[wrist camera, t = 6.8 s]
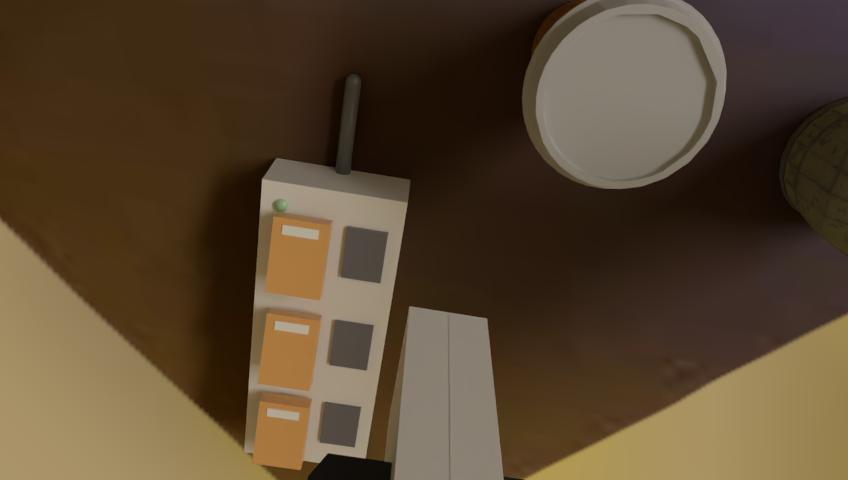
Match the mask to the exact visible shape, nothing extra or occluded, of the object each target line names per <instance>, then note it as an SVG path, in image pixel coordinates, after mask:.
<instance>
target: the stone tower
mask: <svg viewBox="0 0 848 480" xmlns="http://www.w3.org/2000/svg"><path fill="white" fill-rule="evenodd" d="M779 180H780V185H781V189H782V193H783V195H784V196H785V198H786V199H787V201H788V202H789V203H790V205H791V206H792V208H793V209H795V210H796V211H797V212H799V213H800V214H801V215H802V216H803V218H804V219H805V220H806V222H807V223H808V225H809V226H810V227H811V228H813V229H814V230H815V231H816V232H817V233H818V234H819V235H821V236H822V237H823V238H824V239H825V240H826V241H827V242H829V243H830V244H831V245H832V246H833V247H835V248H836V249H838V250H839V251H840V252H842V253H843V254H845V255H846V256H848V97H846V98H843V99H841V100H838V101H835V102H833V103H830V104H827V105H825V106H824V107H822V108H821V109H819V110H818V111H816V112H815V113H814V114H812V115H811V116H809V117H808V118H806V119H805V120H804V121H803V123H802V124H801V125H800V126H799V127H798V128H797V130H796V131H795V132H794V133H793V134H792V135H791V137H790V139H789V141H788V143H787V145H786V147H785V149H784V151H783V153H782V156H781V161H780V169H779Z"/></svg>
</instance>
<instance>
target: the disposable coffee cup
mask: <svg viewBox="0 0 848 480" xmlns="http://www.w3.org/2000/svg"><path fill="white" fill-rule="evenodd" d="M726 73H727V72H726V65H725V59H724V54H723V51H722V48H721V45H720V42H719V39H718V38H717V36H716V34H715V33H714V31H713V29H712V27H711V26H710V24H709V23H708V22H707V21H706V19H705V18H704V17H703V16H702V15H701V14H700V13H699V12H698V11H697V10H695V9H694V8H693V7H692V6H690V5H689V4H687V3H685V2H684V1H682V0H575V1H571V2H568V3H566V4H564V5H562V6H560V7H559V8H557V9H556V10H554V11H553V12H552V13H551V14H549V15H548V17H547V18H546V19H545V20H544V21H543V22H542V24H541V25H540V27H539V29H538V30H537V32H536V35H535V38H534V40H533V45H532V51H531V60H530V63H529V65H528V68H527V70H526V74H525V79H524V84H523V91H522V106H523V116H524V121H525V125H526V128H527V131H528V134H529V137H530V138H531V140H532V142H533V144H534V146H535V148H536V150H537V151H538V152H539V154H540V155H541V156H542V157H543V159H544V160H545V161H546V162H547V163H548V164H549V165H550V166H552V167H553V168H554V169H555V170H556V171H558V172H559V173H560V174H562V175H564V176H565V177H567V178H569V179H571V180H572V181H575V182H578V183H581V184H583V185H586V186H591V187H597V188H603V189H624V188H633V187H641V186H644V185H647V184H650V183H653V182H656V181H658V180H661V179H664V178H666V177H668V176H669V175H671V174H672V173H674V172H675V171H677V170H678V169H680V168H681V167H683V166H684V165H686V164H687V163H689V162H690V161H691V159H692V158H693V157H694V156H695V155H696V154H697V153H698V152H699V150H700V149H701V148H702V147H703V146H704V145H705V144H706V143H707V142H708V140H709V138H710V136H711V134H712V132H713V130H714V128H715V127H716V125H717V123H718V121H719V118H720V114H721V111H722V108H723V104H724V96H725V92H726Z"/></svg>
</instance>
